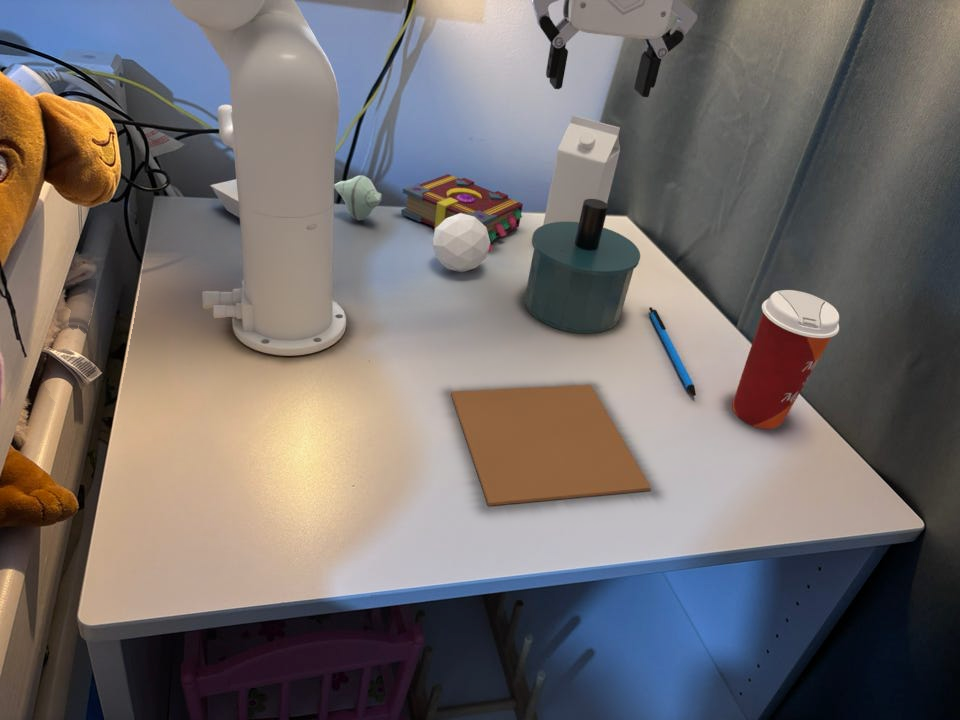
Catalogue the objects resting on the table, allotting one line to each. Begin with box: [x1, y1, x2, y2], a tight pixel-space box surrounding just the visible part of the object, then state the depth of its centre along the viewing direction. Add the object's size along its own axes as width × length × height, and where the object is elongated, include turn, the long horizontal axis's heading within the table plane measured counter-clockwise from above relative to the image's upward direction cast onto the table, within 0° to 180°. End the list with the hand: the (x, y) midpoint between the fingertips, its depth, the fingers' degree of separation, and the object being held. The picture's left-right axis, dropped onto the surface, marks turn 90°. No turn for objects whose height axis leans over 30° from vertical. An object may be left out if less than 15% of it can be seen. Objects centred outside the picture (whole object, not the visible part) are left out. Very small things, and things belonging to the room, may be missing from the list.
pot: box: [524, 248, 635, 334], centre depth 92 cm, size 13×13×8 cm
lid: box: [531, 199, 641, 276], centre depth 88 cm, size 14×14×7 cm
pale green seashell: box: [334, 175, 383, 221], centre depth 106 cm, size 8×4×7 cm, turn 65°
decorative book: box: [400, 173, 524, 252], centre depth 110 cm, size 11×16×5 cm
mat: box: [450, 384, 652, 507], centre depth 72 cm, size 16×16×1 cm
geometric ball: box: [431, 213, 491, 273], centre depth 98 cm, size 8×8×8 cm
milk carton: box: [542, 114, 621, 226], centre depth 105 cm, size 7×7×19 cm
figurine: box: [209, 103, 240, 219], centre depth 101 cm, size 7×9×15 cm
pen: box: [648, 306, 697, 398], centre depth 88 cm, size 1×19×1 cm, turn 4°
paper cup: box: [732, 289, 840, 430], centre depth 76 cm, size 8×8×14 cm
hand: (598, 89), depth 77 cm, fingers open, 9 cm apart
